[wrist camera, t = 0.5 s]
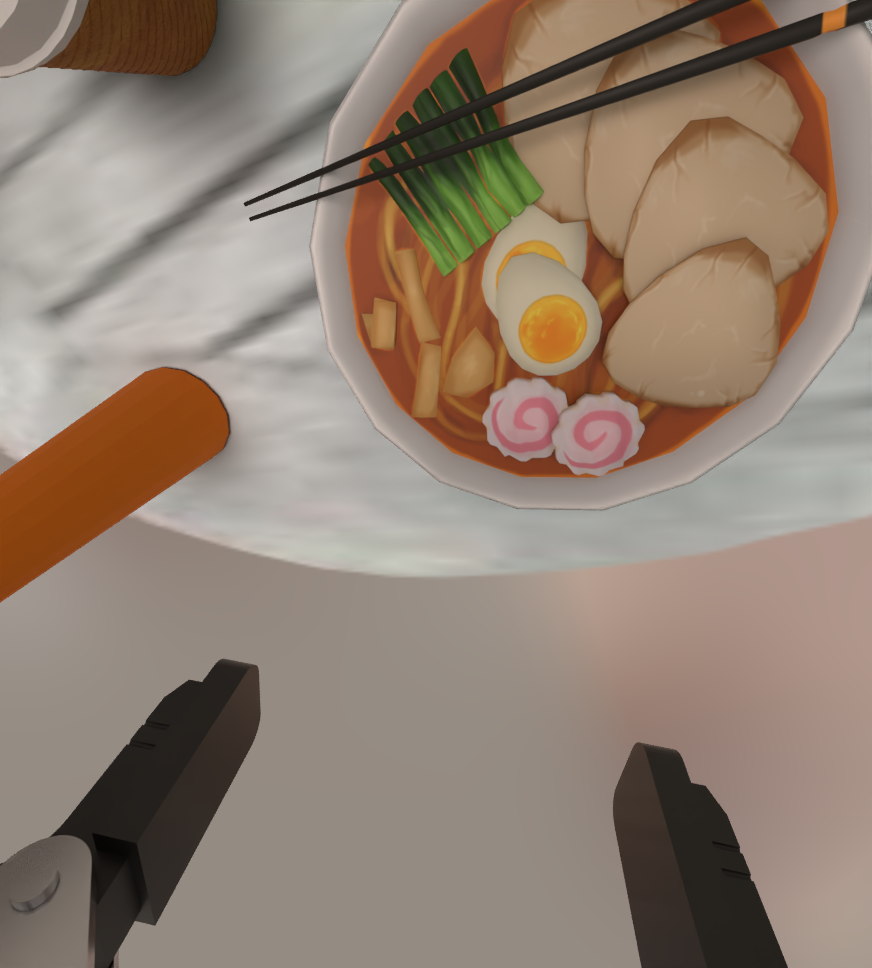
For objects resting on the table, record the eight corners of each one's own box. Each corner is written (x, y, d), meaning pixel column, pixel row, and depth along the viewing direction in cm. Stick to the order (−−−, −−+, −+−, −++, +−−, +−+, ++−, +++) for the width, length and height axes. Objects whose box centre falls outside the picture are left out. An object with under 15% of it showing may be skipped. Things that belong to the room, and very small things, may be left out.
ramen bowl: (405, 479, 35) (379, 551, 28) (270, 89, 24) (175, 51, 18) (802, 409, 29) (893, 480, 22) (856, -151, 18) (1066, -355, 11)
